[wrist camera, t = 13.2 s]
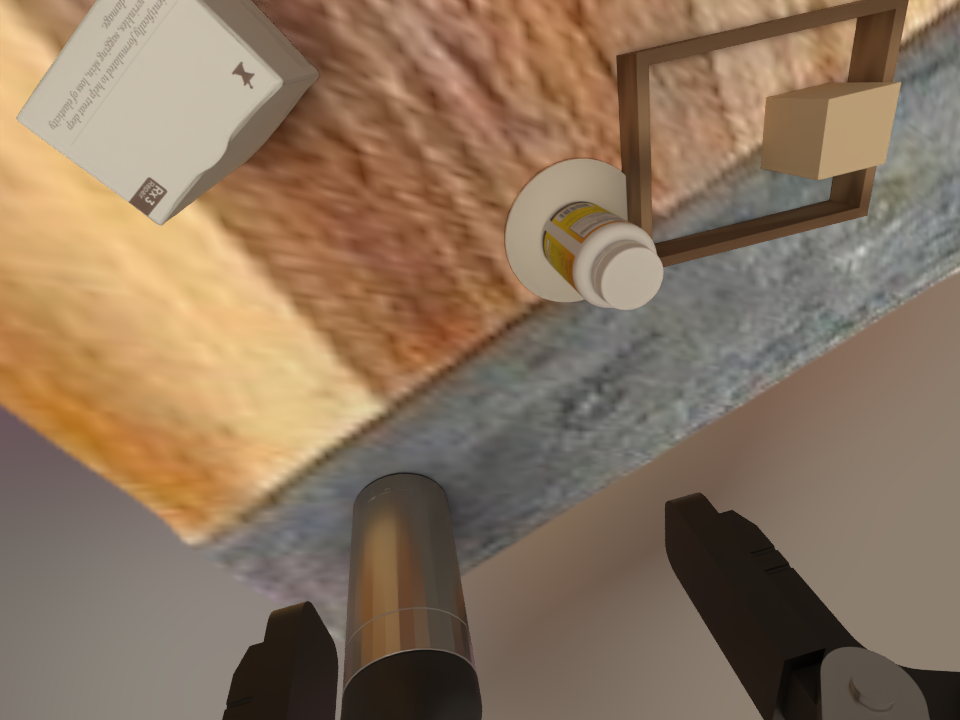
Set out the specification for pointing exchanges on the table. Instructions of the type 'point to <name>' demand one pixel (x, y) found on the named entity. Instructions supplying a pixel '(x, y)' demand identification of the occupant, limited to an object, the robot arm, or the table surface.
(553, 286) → the coaster
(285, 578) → the table surface
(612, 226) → the supplement bottle
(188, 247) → the table surface
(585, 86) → the table surface
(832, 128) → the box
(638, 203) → the wooden frame
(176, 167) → the skincare box
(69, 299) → the table surface
